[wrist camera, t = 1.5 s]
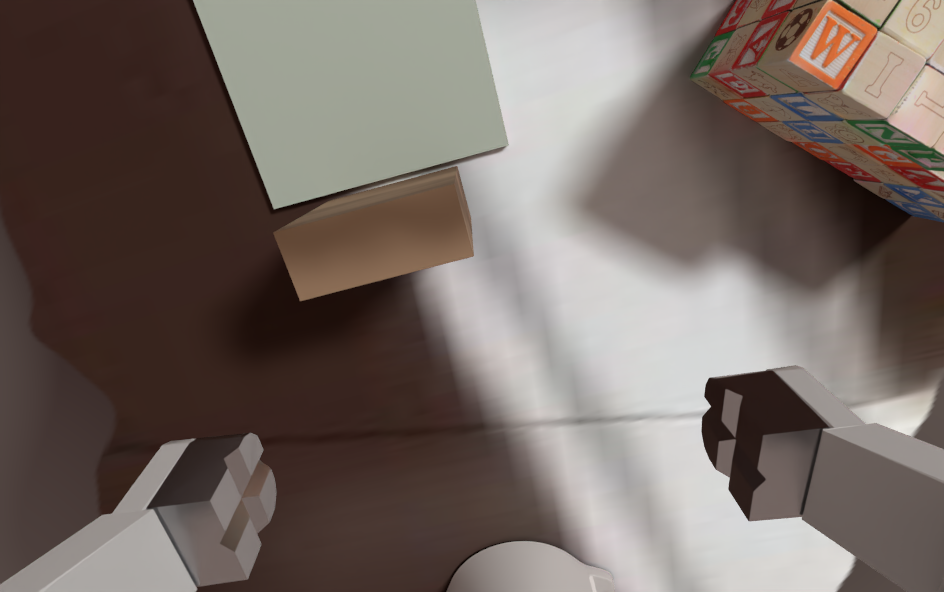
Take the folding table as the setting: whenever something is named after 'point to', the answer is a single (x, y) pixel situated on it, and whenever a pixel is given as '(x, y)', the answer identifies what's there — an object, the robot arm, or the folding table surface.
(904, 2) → the stack of blocks
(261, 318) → the folding table surface
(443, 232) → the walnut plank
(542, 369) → the folding table surface
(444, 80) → the mat
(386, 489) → the folding table surface
